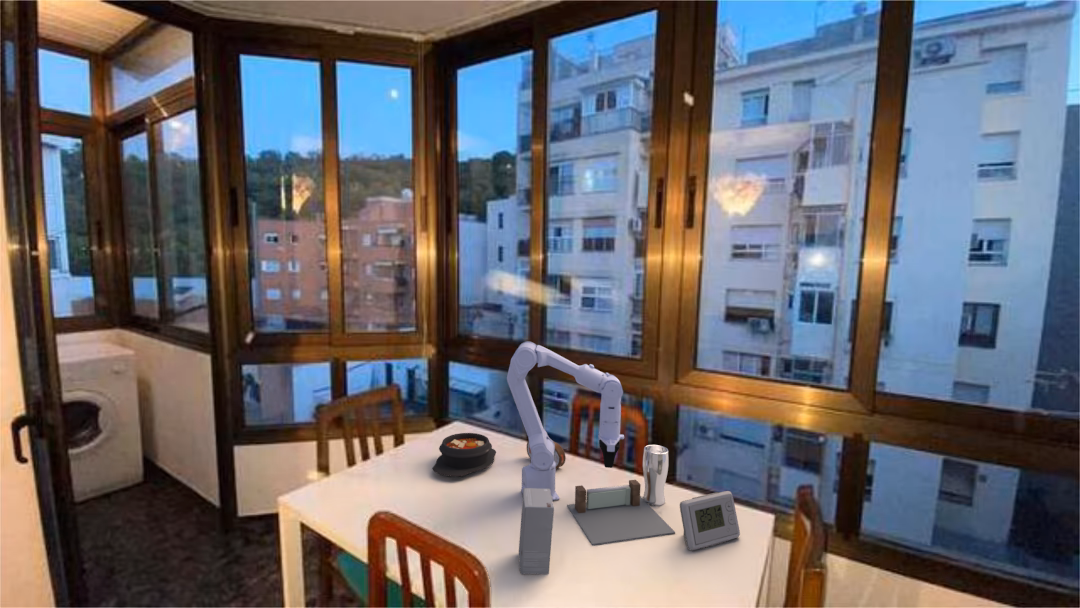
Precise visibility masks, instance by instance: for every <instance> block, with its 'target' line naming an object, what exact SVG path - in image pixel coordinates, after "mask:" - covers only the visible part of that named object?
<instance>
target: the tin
mask: <svg viewBox="0 0 1080 608" xmlns="http://www.w3.org/2000/svg"><path fill="white" fill-rule="evenodd" d="M553 442H554V445H555V450H554V461H555V463H556V470H557V469H559V468H561V467H563V466H564V465H565V463H566V459H567V458H566V453H565V450H564V448H563V447H562V446H561V445H560V444H559V443H558V442H555V441H553ZM526 453H527V456H528V458H529V459H530V460H531V455H532V453H531V449H530V445H529V440H527V442H526Z"/></svg>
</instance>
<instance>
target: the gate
mask: <svg viewBox="0 0 1080 608" xmlns="http://www.w3.org/2000/svg"><path fill="white" fill-rule="evenodd" d="M630 491H631V488H630V487H629V484H624V485H616V486H615V485H614V486H608V487H607V486H606V487H598V488H589V489H586V507H587V508H588V509H594V508H602V507H610V506H618V505H630Z"/></svg>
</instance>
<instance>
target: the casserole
mask: <svg viewBox="0 0 1080 608" xmlns="http://www.w3.org/2000/svg"><path fill="white" fill-rule="evenodd" d="M489 439H490V438H489V437H487V436H486V435H483V434H480V433H474V432H460V433H455V434H451V435H449V436H446V437H444V438H443V439H442V441H441V444H440V445H439V447H438V450H439V452H440V453H441V454H440V455H439V456H438V457H437V459H436V462H435V463H434V465H433V466H432V471H433V472H434V473H436V474H439V475H440V476H441V475H442V476H445V477H454V478H455V477H457V478H459V477H464V476H467V475H469V474H471V473H475V472H478V471H483V470H484V469H487V468H488V467H490V466H492V464H494V462H495V456H496V453H497V451H496V450H495V449H494V448H493V445H492V443H491V442H490V440H489Z"/></svg>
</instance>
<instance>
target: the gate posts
mask: <svg viewBox="0 0 1080 608" xmlns="http://www.w3.org/2000/svg"><path fill="white" fill-rule="evenodd" d="M628 485H629V487H630V488H631V491H630V504H631V505H632V506H640V496H641V486H642V484H641V483H640V482H639V481H637V479H629V480H628ZM574 489H575V492H574V493H575V494H574V504H575V509H576V510H577V512H578V513H585V512H586V499H587V489H586V488H585V487H584V486H583V485H582V484H581V485H575V488H574Z"/></svg>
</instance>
